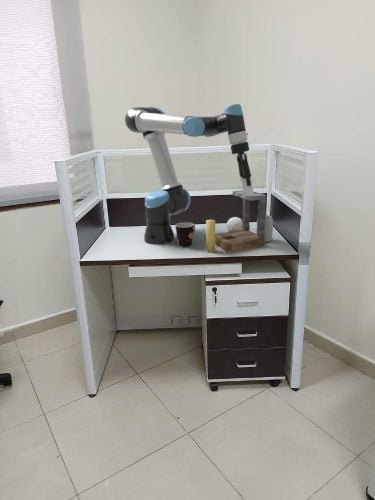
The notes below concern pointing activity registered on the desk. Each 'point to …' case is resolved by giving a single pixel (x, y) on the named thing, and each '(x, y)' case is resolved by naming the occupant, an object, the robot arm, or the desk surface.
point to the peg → (210, 235)
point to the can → (268, 228)
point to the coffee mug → (185, 233)
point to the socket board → (238, 240)
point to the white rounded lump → (234, 224)
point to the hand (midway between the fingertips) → (248, 192)
